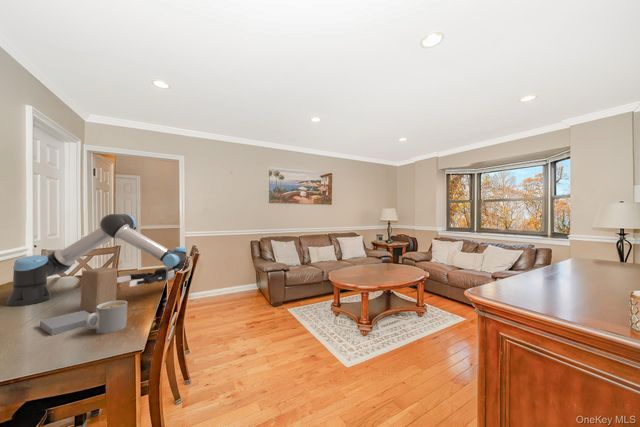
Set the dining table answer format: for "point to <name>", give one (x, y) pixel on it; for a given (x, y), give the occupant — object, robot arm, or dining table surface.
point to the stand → (65, 322)
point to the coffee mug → (109, 317)
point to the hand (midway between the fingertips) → (122, 282)
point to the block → (98, 288)
